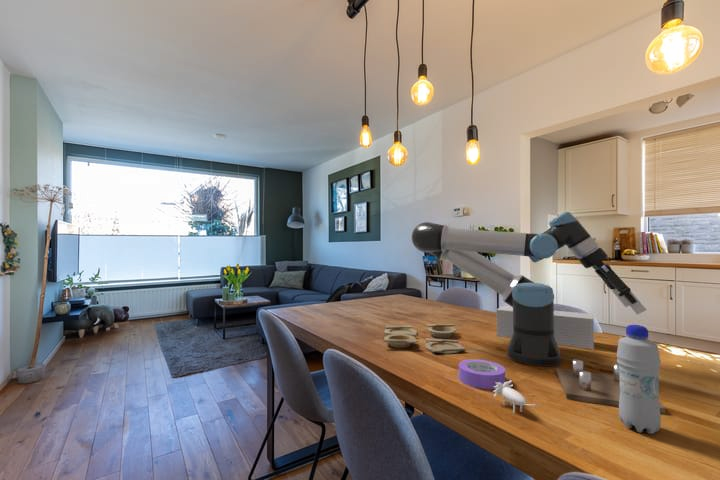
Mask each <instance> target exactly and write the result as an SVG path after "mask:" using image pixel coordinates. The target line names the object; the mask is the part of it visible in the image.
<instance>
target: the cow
mask: <svg viewBox="0 0 720 480" xmlns="http://www.w3.org/2000/svg"><path fill="white" fill-rule="evenodd" d="M512 381H513V380H511V379H510V380H509V381H505V383H504V384H502V383H500V382H498V383H497V382H495V383H496V384H497V385H496V386H493V387H494V388H497V389H494V390H493V391H492V392H493V393H494V394H493V397H497V396H498V395H499V394H501V395H502V406H503V407H505V406H506V400H508V401H509V405H510V406H512V407H513V409H512V413H513V414H515V413H516V405H518V406H519V407H520V408H519V412H520V413H522V412H523V406H530V407H531V406H532V407H536V406H537V405H536V404H535V403H533V404H531V403H529V404H528V403H527V399H526V398H525V396H524V395H522V394H521V393H520V392H519V391H517V390H515V389H513V388H512V387H513V385H514V384H512ZM505 399H506V400H505Z"/></svg>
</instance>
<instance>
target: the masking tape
mask: <svg viewBox="0 0 720 480" xmlns="http://www.w3.org/2000/svg"><path fill="white" fill-rule="evenodd" d="M458 380H459V381H460V382H461V383H463V384H464V385H467V386H469V387H472V388H475V389H476V388H477V389H483V390H496V389H497V388H494V387H493V386H496V385H497V384H496V383H495V382H497V383H498V382H500V383H502V384H504V383H505V382H506V369H505V367H504V366H503V365H501V364H499V363H497V362H494V361H490V360H485V359H476V358H475V359H473V358H472V359H464V360H462V361H460V362H459V363H458Z"/></svg>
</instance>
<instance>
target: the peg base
mask: <svg viewBox="0 0 720 480" xmlns="http://www.w3.org/2000/svg"><path fill="white" fill-rule="evenodd" d="M589 372H590V371H589ZM555 373H556V376H557V379H558V381H559V383H560V386H561V388H562V391H563V392H564V393H563V394H564V395H565V398H566V399H567V400H573V401H578V402H587V403H592V404H599V405H606V406H613V407H618V408H619V398H620V383H617V382H615V381H614V374H607V373H600V372H599V373H598V372H590V373H591V391H583V390H581V389H579V378H577V377H574V376H573V370H572V369H565V368H557V367H556V368H555ZM659 407H660V414H664V415H665V414H666V407H665V406H663V404H662V403H661V402H660V401H659Z"/></svg>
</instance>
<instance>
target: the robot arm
mask: <svg viewBox="0 0 720 480" xmlns="http://www.w3.org/2000/svg"><path fill="white" fill-rule="evenodd" d="M548 224H549V227H550V228H548V229H547V230H545V231H544V232H542V233H526V232H512V231H511V232H510V231H496V230H480V229H478V230H477V229H465V228H449V226H447V225H445V224H444V225H443V224H438V223H433V222H428V221H427V222H425V221H424V222H421V223H419V224H418V225H416V226H415V227H414V229H413V231H412V234H411V241H412V244H413V247H415V248H416V249H417V250H418V251H420V252H422V253H429V254H431V255H432V256H433V257H435V258H437V259H438V260H440V261H444V260H447V261H448V262H449V263H452V264H453V265H455V266H456V267H457V268H459V269H461V270H462V271H464V272H465V273H467V274H468V275H470V276H471V277H473V278H474V279H476V280H478V281H479V282H480V283H482V284H483V285H485V286H487V287H489V288H490V289H492V290H493V291H495V292H496V293H498V294H499V295H501V297H502V301H503V302H504V303H506V304H507V305H508V306H510V307H513V334H512V337H511V338H510V340H509V343H508V345H507V346H508V347H507V356H508V358H509V359H511V360H513V361H515V362H518V363H522V364H525V365H530V366H535V367H537V366H538V367H555V366H558V365H560V364H561V363H562V355H561V352H560V349H559V346H558V344H557V343H556V340H555V337H554V311H555V308H554V300H555V294H554V290H553V287H551V286H550V285H549V284H544V283H541V282H540V283H538V282H534V281H532V280H531V279H529V278H527V277H526V276H524V275H523V274H520V275H514V274H513V273H512V272H510V271H508V270H506V269H505V268H503V267H501V266H500V265H498V264H496V263H495V262H493V261H492V260H490V259H488V258H487V257H485V256H483V255H481V254H480V253H486V254H488V253H489V254H498V255H507V256H508V255H509V256H519V257H528V258H529V259H530V260H531V262H532V263H538V262H540V261H543V260H544V259H550V258H551V257H553V256H554V255H555V254H556V253H557V251H558V250H559V249H561V248H564V246H567V248H568V249H569V250H570V253H572V254H573V255H574V257H575V258H577V259H578V260H579V262H580V264H581V265H582V266H583V267H584V269H590V268H592V269H594V272H595V273H596V274H597V275H598V276H599V278H600V279H602V281H603V282H604V284H605V285H606V286H607V287H608V288H609V290H610V291H612V293H613V294H614V295H615V296H616V297H617V299H618V300H619V301H620V302H621V303H622V304H623V306H624V307H625V308H627V307H630V308H631V309H632V310H633V311H634V313H635V314H636V315H640V314H642V313H644V312H646V311H647V308H646V307H645V306H644V305H643V303H642V302H641V301H640V300H639V299H638V298H637V296H636V295H635V294H634V293H633V291H632V290H631V288H630V287H629V286H628V285H627V284H626V283H625V282H624V281H623V280H622V279H621V277H619V276H618V274H617V273H616V272H615V271H614V270H613V269H612V267H611V266H610V265H609V264H608V263H605V262H603V261H605V260H607V259H608V257H609V256H608V254H607V253H606V251H605V250H604V249H603V248H602V247H599V244H598V243H597V241H596V240H597V238H595V237H592V236H591V234H590V233H589V232H588V231H587V230H586V228H585V227H584V226H583V225H582V223H580V221H579V220H578V219H577V218H576V217H575V216H574V215H573V214H572V213H571V212H570V211H564V212H563V213H560V214H559V215H558V216H555V218H553V219H551V220H550V221H549V223H548Z"/></svg>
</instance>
